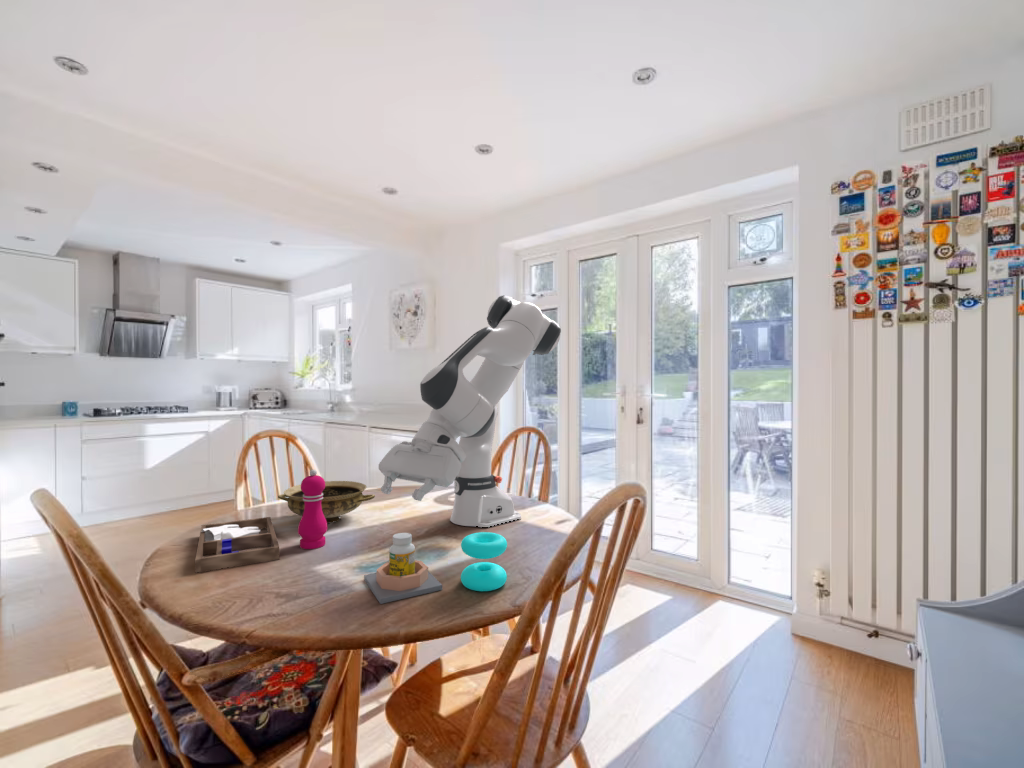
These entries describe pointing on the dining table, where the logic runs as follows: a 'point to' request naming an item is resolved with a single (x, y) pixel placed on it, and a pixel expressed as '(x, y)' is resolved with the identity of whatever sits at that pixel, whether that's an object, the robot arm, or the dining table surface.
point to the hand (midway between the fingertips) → (399, 495)
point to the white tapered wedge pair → (228, 532)
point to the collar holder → (401, 583)
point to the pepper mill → (312, 513)
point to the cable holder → (227, 546)
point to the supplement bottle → (402, 555)
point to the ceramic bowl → (330, 498)
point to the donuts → (483, 573)
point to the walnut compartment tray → (238, 547)
